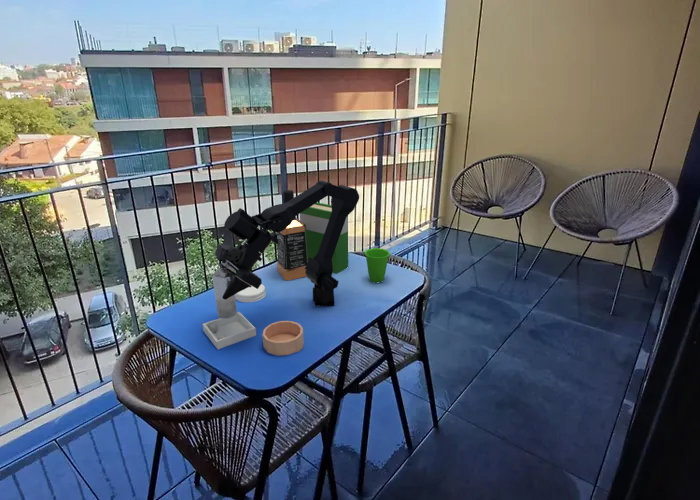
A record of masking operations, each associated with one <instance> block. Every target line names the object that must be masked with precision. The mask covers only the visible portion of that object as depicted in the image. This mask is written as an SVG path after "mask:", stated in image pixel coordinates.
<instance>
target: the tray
mask: <svg viewBox="0 0 700 500" xmlns="http://www.w3.org/2000/svg"><path fill="white" fill-rule="evenodd" d="M212 324H216V325H217V326H218V330H217V331H216V332H214V333H212V332H211V331H210V329H209V327H210V326H211V325H212ZM256 329H257V328H256V327H255V326H254V325H253V324H252V323H251V322H250V321H249V320H248V319H247V318H246V317H245V316H244V315H243V314H242V312H241V311H237V314H236V315H235V316H234V317H231V318H226V319H223V318H220V317H218V318H216V319H214V320H213V319H212V320H210V321H207V322H204V323H202V330H203V332H204V333H205V335H206V337H207V338H208V339H209V340H210V342H211V343H212V345H214V346H215V348H216V350H220V349H222V348H225V347H229V346H231V345H234V344H237V343H239V342H243V341H245V340H248V339H250V338H253V337H256V336H257V330H256ZM222 334H223V335H225V336H226V337H225V338H222V339H220V340H218V337H219V335H222Z"/></svg>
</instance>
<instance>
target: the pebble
mask: <svg viewBox="0 0 700 500" xmlns="http://www.w3.org/2000/svg"><path fill="white" fill-rule="evenodd" d="M209 329H210V331H211V332H212V333H214V332H216V331H217V330H218V326H217V325H216V324H212V325H211V326H210V327H209Z"/></svg>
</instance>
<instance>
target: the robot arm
mask: <svg viewBox="0 0 700 500" xmlns="http://www.w3.org/2000/svg"><path fill="white" fill-rule="evenodd" d="M326 197H330V198H331V199H330V205H331V207H332V213H331V216H330V219H329V221H328V224H327V227H326V230H325V233H324V236H323V239H322V242H321V245H320V248H319V250H318V253H317V255H316V256H315V257H314V258H311V257H309V259H308V263H307V265H306V267H305V269H306V272H305V274H306V278H307V279H308V280H310V282H311V283H312V284H314V285H313V286H314V287H312V303H314V304H313V305H314V307H333V306H335V294H334V293H335V291H334V290H335V289H337V288H338V285H339V280H338V279H336V278H335V277H333V273H332V272H333V265H332V257H333V254H334V252H335V249H336V246H337V243H338V240H339V237H340V234H341V232H342V229H343V226H344V223H345V220H346V217H347V216H348V217H349V215H350V214H351V213H353V211H354V210H355V208H356V206H357V204H358V202H359V200H360V194H359V192H358V190H357V189H356V188H354V187H350V186H347V185H344V184H339V185H335V184H332V183H331V182H330V181H329V182H328V181H325V180H319V181H317V182H316V184H314V185H313V186H311V187H309V188H308V189H306V190H304V191H303V192H300V194H298V195H296V196H294V198H293V199H291V200H290V201H288V202H286V203H284V202H283V203H280V204H279V203H278V204H275V205H272V206H269V207H267V208H265V209H264V210H262V212H260V213H258V214H255V215H252V216H251V215H250V214H248V212H247V211H246V210H244V209H243V208H238V210H237V211H234V212H232V214H230V215H228V217H226V220H225V221H224V225H223V227H224V229H225V230H226V231H228V233H230V234H233V236H235V237H237V238H238V239H240V240H241V241H244V240H245V242H244V243H243V244H241V243H239V244H237V246H236V247H235V246H231V245H227V244H222V243H218V244H217V246H216V249H215V252H214V256H215V259H216V260H218V261H219V262H218V265H219V269H220V268H226V269H228V270H229V272H231V278H232V281H231V283H230V284H229V286H228V288H227V289H226V291H225V293H224V295H223V297H222V298H223V299H225V300H226V299H228V298H229V297H231V296H233V295H235V294H236V293H238V292H240V291H242V290H244V289H246V288H248V287H250V288H251V287H252V286H253V287H255V288H256V289H258V288H259V287H260V285H261V284H262V282H263V281H262V278H260V276H258V275H257V274H256V273H254V269H253V267H254V266H255V265H256V263H257V262H261V261H262V260H263V258H262V257H261V256H262V255H263V254H264V252H265V251H266V249H267V248H268V246H269V245H270V244H271V242H273V243H274V244H275V245H277V244H278V239H277V234H276V232H281V231H283V230H284V229H285V228H287V227H288V226H289V225H290V224H291V223H292V221H293V219H294V218H295V217H296V218H297V216H298V215H300V213H301V212H303V211H304V210H306V209H308V208H309V207H311V206H312V205H314V204H315V203H317V202H318V203H319V202H320V201H322V200H323V199H325V198H326ZM258 227H260V228H261V229H259V228H258ZM269 230H270V231H271V232H272V233H271V232H270V231H269ZM262 285H263V284H262Z"/></svg>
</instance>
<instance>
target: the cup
mask: <svg viewBox="0 0 700 500" xmlns="http://www.w3.org/2000/svg"><path fill="white" fill-rule="evenodd" d="M364 255H365V260H366V264H367V265H366V266H367V272H368V279H369V281H370V282H371V283H372V282H375V283H374V284H378V283H377V282H382V281H383V280H385V275H386V272H387V271H386V270H387V266H388V261H389V256H391V253H390V251H389V250H388V249H386V248H380V247H379V248H378V247H377V248H374V247H373V248H368V249H366V250H365V251H364ZM383 282H384V281H383ZM383 282H382V283H383Z"/></svg>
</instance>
